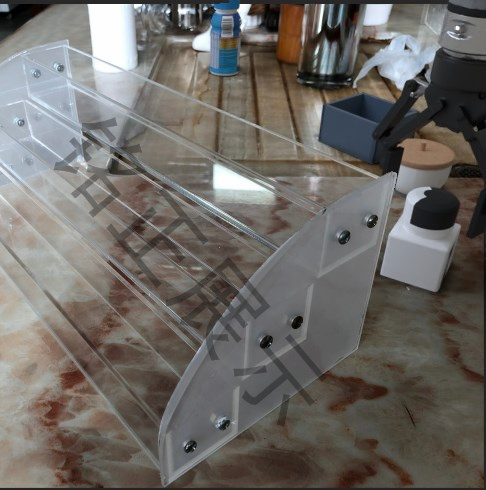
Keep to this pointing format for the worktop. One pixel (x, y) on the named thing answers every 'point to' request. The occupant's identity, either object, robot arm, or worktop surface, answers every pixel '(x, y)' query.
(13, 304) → the worktop surface
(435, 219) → the container
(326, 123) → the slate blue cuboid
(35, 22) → the worktop surface
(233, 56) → the beverage bottle
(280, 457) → the worktop surface
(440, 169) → the trinket box
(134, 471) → the worktop surface
